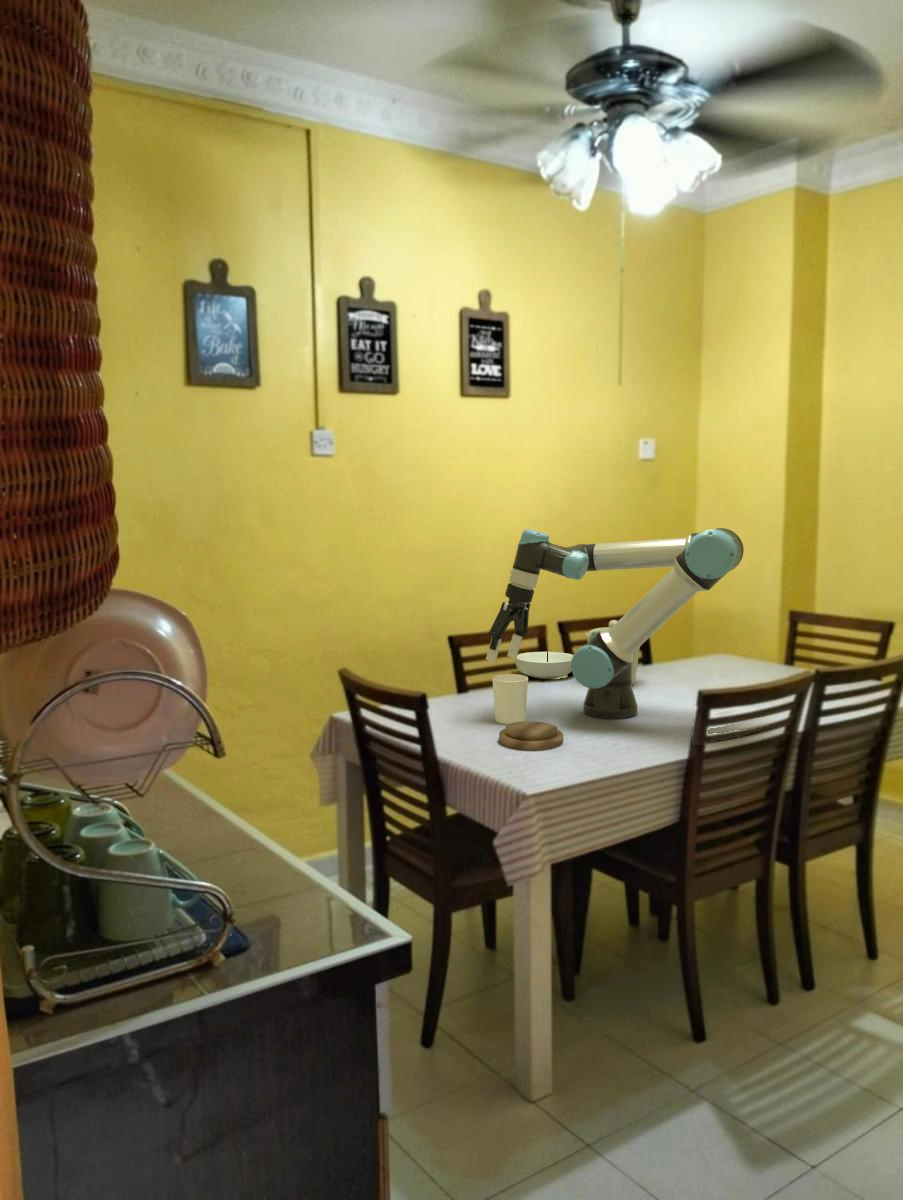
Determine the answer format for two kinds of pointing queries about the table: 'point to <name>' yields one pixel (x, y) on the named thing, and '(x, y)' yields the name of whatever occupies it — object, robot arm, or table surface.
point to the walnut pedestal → (530, 736)
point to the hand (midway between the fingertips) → (501, 659)
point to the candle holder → (510, 698)
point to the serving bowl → (544, 664)
